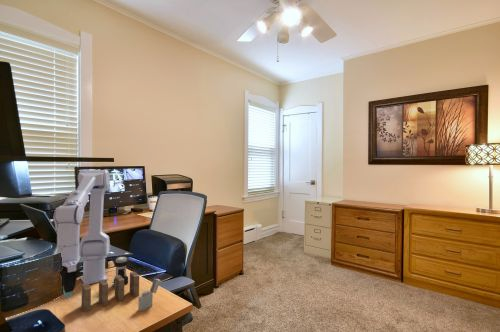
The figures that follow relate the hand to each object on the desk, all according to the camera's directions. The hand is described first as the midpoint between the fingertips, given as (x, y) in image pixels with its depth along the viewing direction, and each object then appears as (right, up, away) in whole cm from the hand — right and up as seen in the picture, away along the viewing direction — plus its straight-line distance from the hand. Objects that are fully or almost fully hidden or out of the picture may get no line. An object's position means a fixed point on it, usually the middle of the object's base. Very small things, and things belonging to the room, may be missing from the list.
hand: (67, 288), depth 82 cm
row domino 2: (+7, -8, +7) cm, 13 cm away
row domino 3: (+11, -8, +10) cm, 17 cm away
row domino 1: (+4, -8, +3) cm, 9 cm away
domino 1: (0, -2, 0) cm, 2 cm away
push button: (+6, -8, +20) cm, 23 cm away
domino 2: (+15, -8, +13) cm, 22 cm away
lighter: (+23, -8, +5) cm, 25 cm away
